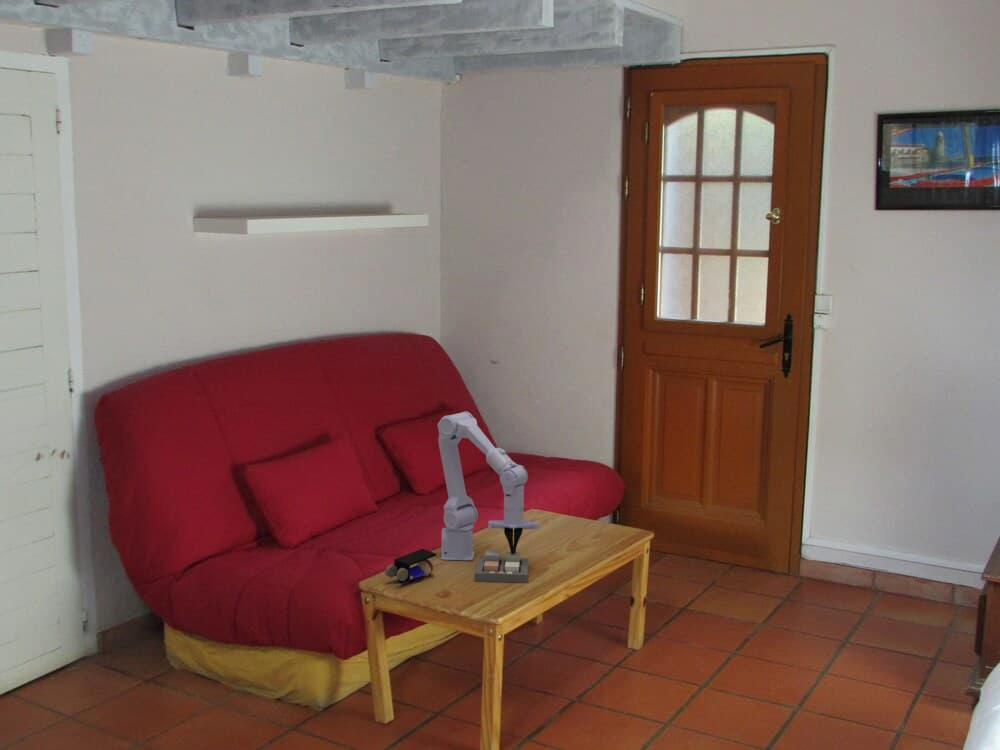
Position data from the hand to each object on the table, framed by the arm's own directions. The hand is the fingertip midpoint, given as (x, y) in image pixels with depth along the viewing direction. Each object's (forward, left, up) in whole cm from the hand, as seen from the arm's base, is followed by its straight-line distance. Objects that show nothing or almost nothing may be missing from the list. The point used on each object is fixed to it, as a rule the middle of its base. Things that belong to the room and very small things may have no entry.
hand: (513, 552), depth 336 cm
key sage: (0, 0, -4) cm, 4 cm away
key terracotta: (-6, -6, -4) cm, 9 cm away
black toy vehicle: (-29, -10, -6) cm, 31 cm away
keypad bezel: (-3, -3, -6) cm, 7 cm away
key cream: (0, -6, -4) cm, 7 cm away
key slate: (-6, 0, -4) cm, 7 cm away
